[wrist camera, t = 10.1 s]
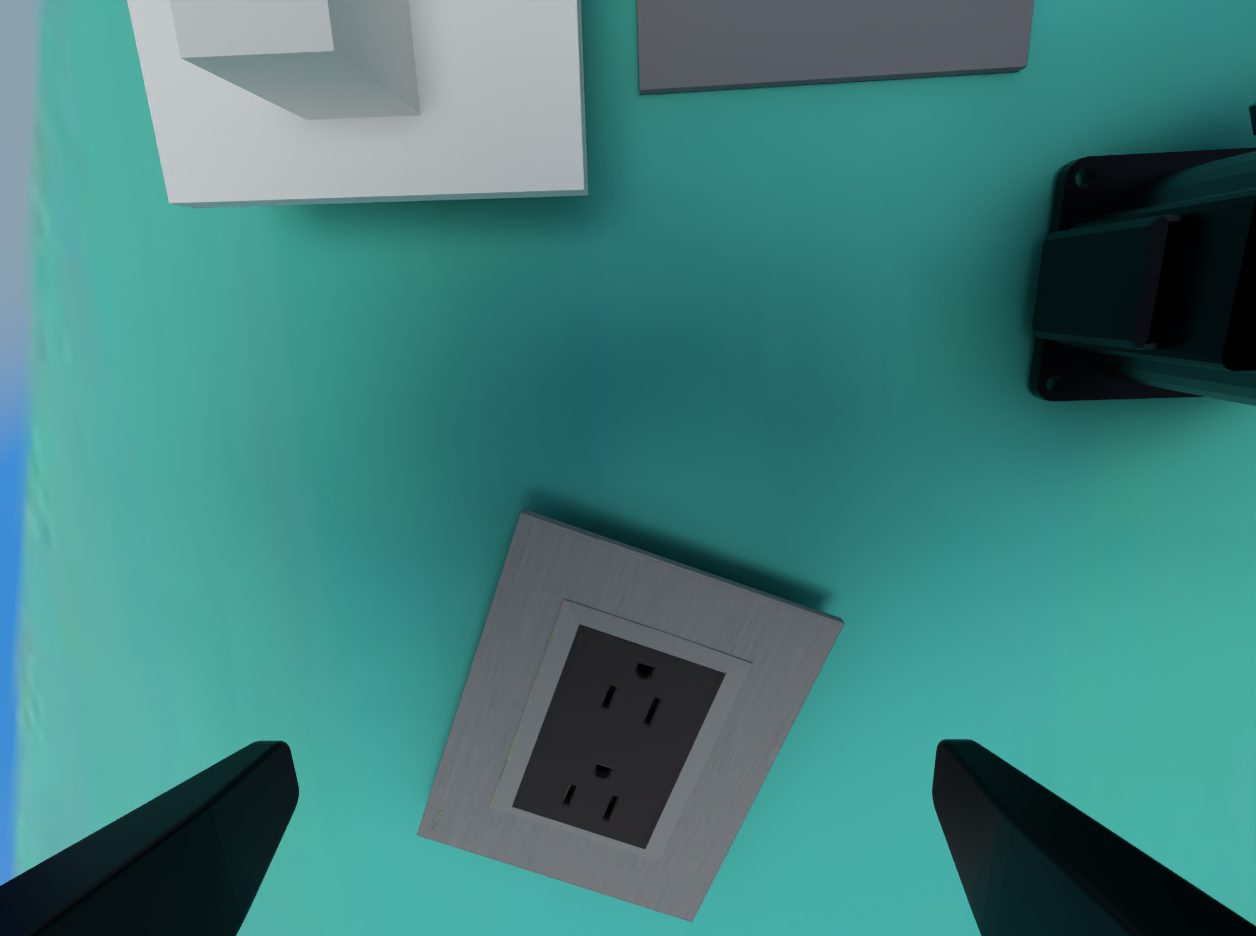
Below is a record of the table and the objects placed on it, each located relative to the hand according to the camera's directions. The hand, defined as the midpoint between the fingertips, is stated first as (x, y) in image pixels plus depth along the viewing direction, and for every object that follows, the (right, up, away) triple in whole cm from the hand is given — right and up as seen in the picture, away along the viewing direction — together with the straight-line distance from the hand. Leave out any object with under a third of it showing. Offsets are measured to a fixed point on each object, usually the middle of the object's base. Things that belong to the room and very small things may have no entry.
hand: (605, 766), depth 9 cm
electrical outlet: (0, -4, +14) cm, 15 cm away
